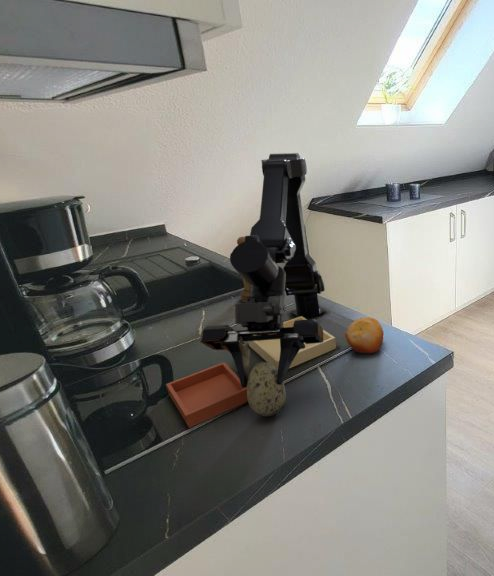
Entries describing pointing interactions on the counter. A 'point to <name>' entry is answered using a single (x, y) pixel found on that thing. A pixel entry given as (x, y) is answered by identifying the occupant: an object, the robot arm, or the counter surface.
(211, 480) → the counter surface
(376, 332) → the fruit
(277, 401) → the decorative egg
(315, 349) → the sand tray
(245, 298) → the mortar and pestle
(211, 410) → the terracotta tray
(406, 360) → the counter surface
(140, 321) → the counter surface
